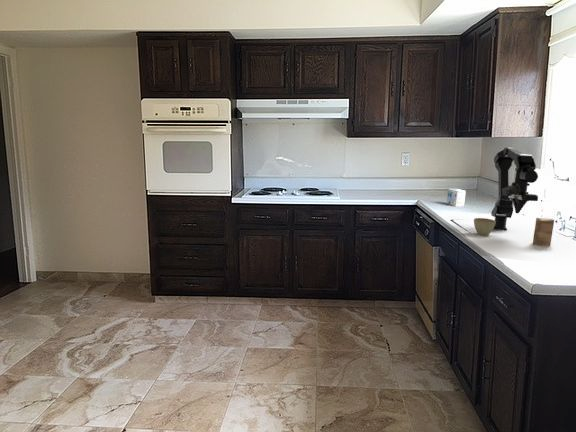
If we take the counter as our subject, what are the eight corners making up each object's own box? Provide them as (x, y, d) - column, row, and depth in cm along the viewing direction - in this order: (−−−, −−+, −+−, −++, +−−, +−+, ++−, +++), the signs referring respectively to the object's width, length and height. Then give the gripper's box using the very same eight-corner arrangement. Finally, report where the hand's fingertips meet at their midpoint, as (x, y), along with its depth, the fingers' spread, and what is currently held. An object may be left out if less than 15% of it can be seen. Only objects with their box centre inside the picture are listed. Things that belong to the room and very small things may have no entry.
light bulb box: (446, 203, 324) (447, 188, 322) (454, 203, 326) (456, 188, 324) (455, 206, 314) (457, 190, 312) (464, 206, 316) (466, 190, 314)
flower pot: (467, 232, 236) (469, 218, 234) (483, 231, 239) (485, 217, 238) (482, 237, 226) (484, 222, 225) (498, 236, 230) (500, 221, 229)
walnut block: (532, 243, 218) (536, 217, 216) (544, 243, 219) (548, 218, 217) (538, 245, 214) (542, 219, 212) (550, 245, 215) (554, 219, 213)
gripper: (494, 178, 233) (490, 209, 236) (519, 182, 215) (515, 216, 218) (514, 179, 235) (510, 210, 238) (540, 183, 218) (536, 216, 220)
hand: (517, 213), depth 228 cm, fingers closed
